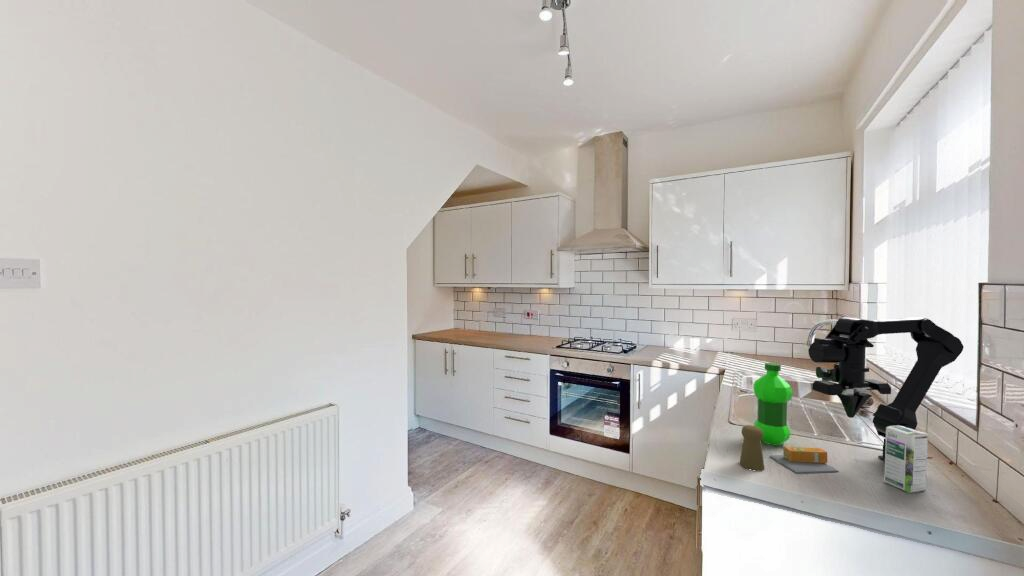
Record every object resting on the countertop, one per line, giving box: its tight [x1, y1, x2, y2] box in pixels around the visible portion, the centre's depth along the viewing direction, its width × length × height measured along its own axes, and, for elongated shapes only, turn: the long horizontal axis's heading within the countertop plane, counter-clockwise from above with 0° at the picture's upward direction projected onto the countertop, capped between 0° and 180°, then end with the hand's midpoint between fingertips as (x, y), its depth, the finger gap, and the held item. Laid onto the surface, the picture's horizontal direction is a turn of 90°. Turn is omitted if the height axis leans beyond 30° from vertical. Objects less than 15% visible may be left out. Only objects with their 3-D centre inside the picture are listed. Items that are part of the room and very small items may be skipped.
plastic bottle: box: [752, 362, 793, 446], centre depth 127 cm, size 10×10×25 cm
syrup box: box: [883, 425, 929, 494], centre depth 100 cm, size 6×6×14 cm
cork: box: [739, 424, 765, 472], centre depth 111 cm, size 6×6×11 cm
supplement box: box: [782, 446, 828, 464], centre depth 114 cm, size 3×3×10 cm
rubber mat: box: [769, 454, 839, 474], centre depth 113 cm, size 12×10×1 cm
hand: (850, 417), depth 113 cm, fingers closed
